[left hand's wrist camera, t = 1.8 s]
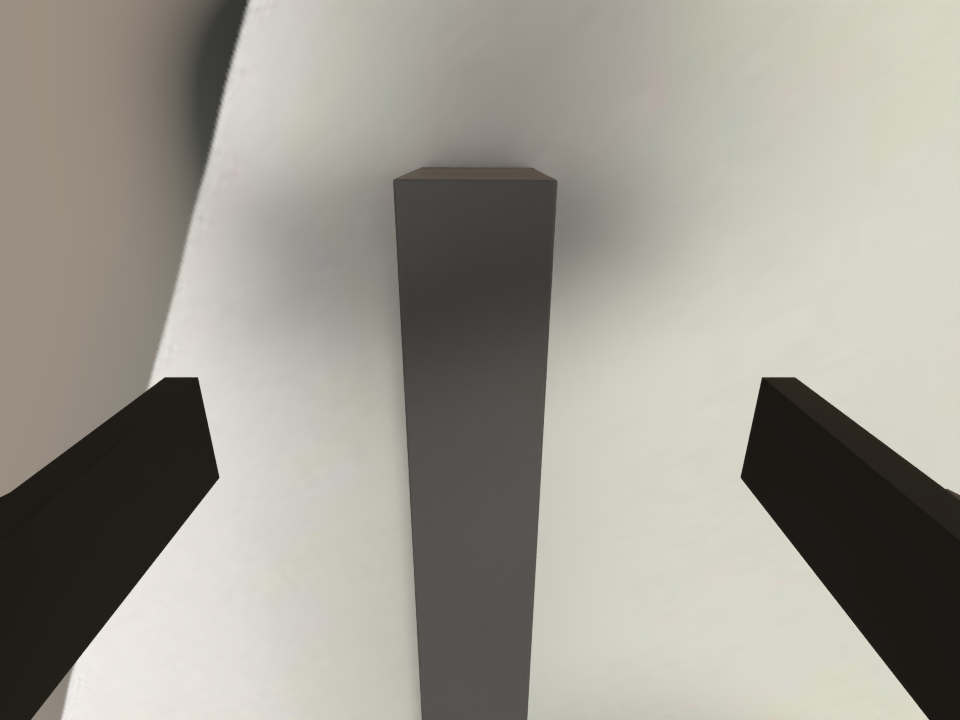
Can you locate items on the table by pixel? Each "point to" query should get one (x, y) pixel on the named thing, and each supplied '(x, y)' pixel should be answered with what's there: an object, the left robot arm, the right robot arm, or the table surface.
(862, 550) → the left robot arm
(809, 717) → the table surface
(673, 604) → the table surface
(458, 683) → the post
